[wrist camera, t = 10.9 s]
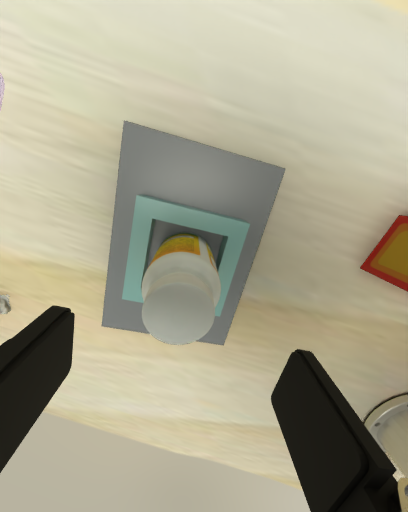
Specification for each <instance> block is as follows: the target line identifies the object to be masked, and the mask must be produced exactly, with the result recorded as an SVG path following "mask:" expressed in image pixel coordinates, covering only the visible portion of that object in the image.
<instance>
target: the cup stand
mask: <svg viewBox="0 0 408 512" xmlns="http://www.w3.org/2000/svg"><path fill="white" fill-rule="evenodd" d="M284 172H285V168H282V167H278V166H275V165H272V164H268V163H265V162H262V161H258V160H255V159H252V158H248V157H245V156H241V155H238V154H235V153H231V152H228V151H225V150H221V149H218V148H215V147H211V146H208V145H205V144H201V143H198V142H195V141H191V140H188V139H185V138H181V137H178V136H175V135H171V134H168V133H165V132H161V131H158V130H155V129H151V128H148V127H144V126H141V125H138V124H134V123H131V122H128V121H124V124H123V133H122V143H121V152H120V161H119V170H118V180H117V189H116V198H115V207H114V216H113V226H112V235H111V244H110V253H109V263H108V272H107V281H106V290H105V300H104V309H103V318H102V326H103V327H110V328H116V329H122V330H129V331H135V332H141V333H148V334H150V333H149V332H148V331H147V329H146V327H145V326H144V323H143V320H142V307H143V303H144V300H143V297H142V281H143V277H144V275H145V273H146V271H147V269H148V267H149V265H150V263H151V262H152V260H153V258H154V256H155V254H156V252H157V251H158V249H159V247H160V245H161V244H162V243H163V241H164V240H165V239H166V238H168V237H169V236H171V235H173V234H176V233H181V232H189V233H194V234H196V235H198V236H200V237H202V238H203V239H204V240H205V241H206V242H207V243H208V245H209V246H210V249H211V251H212V254H213V257H214V261H215V264H216V268H217V271H218V275H219V278H220V283H221V294H220V298H219V301H218V303H217V305H216V307H215V318H214V322H213V325H212V327H211V328H210V330H209V331H208V332H207V333H206V334H205V335H204V336H203V337H202V338H200V339H199V340H196V341H199V342H205V343H211V344H218V345H224V343H225V340H226V337H227V334H228V331H229V328H230V326H231V323H232V320H233V317H234V314H235V311H236V308H237V306H238V303H239V300H240V297H241V294H242V291H243V289H244V286H245V283H246V280H247V277H248V274H249V272H250V269H251V266H252V263H253V260H254V257H255V254H256V252H257V249H258V246H259V243H260V240H261V237H262V235H263V232H264V229H265V226H266V223H267V220H268V218H269V215H270V212H271V209H272V206H273V203H274V200H275V198H276V195H277V192H278V189H279V186H280V183H281V181H282V178H283V175H284Z"/></svg>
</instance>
